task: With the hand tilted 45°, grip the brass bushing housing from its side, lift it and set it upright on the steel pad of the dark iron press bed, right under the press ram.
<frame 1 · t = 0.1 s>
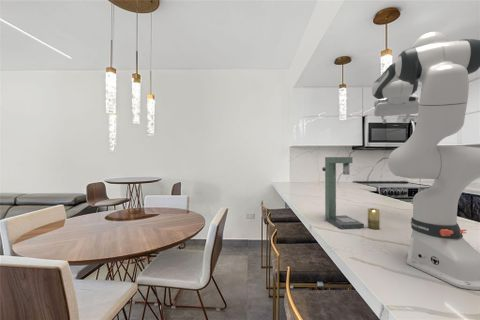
hand: (394, 122, 125), 54 cm above the counter, tool tilted 30°, fingers open, 8 cm apart
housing: (373, 227, 111), on the counter
press: (343, 223, 118), on the counter
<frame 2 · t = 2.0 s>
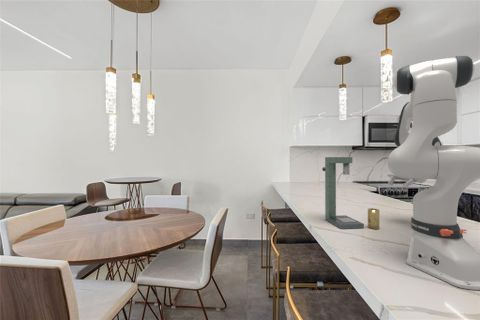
hand: (396, 185, 112), 21 cm above the counter, tool tilted 45°, fingers open, 8 cm apart
nothing on the counter moved.
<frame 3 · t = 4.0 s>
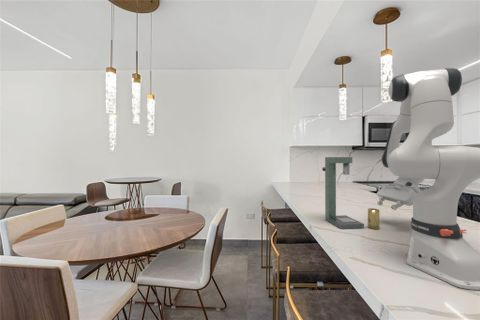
hand: (385, 206, 112), 10 cm above the counter, tool tilted 45°, fingers open, 8 cm apart
nothing on the counter moved.
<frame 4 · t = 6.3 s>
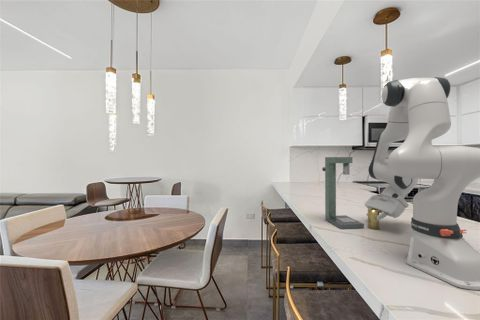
hand: (372, 217, 111), 5 cm above the counter, tool tilted 45°, fingers closed on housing, 5 cm apart
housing: (373, 227, 111), on the counter, touching gripper
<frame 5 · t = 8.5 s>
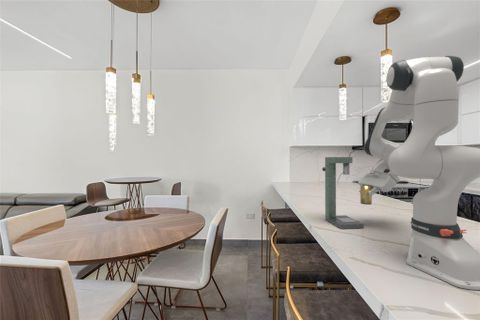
hand: (364, 193, 113), 16 cm above the counter, tool tilted 45°, fingers closed on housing, 5 cm apart
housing: (366, 203, 113), point 12 cm above the counter, touching gripper
when the fingers open (9 cm above the counter, at t = 11.1 s): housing drops 1 cm, resting on press.
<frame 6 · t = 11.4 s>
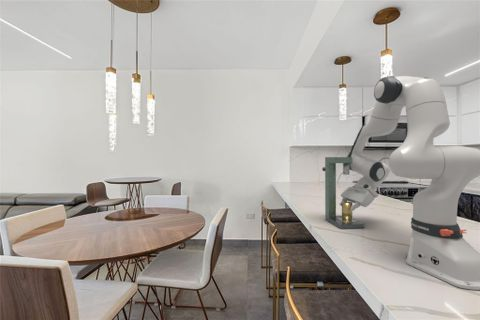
hand: (345, 207, 117), 9 cm above the counter, tool tilted 45°, fingers open, 8 cm apart
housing: (347, 219, 118), point 2 cm above the counter, touching press
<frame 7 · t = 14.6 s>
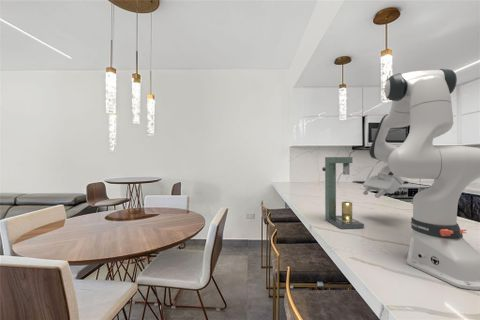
hand: (370, 195, 118), 15 cm above the counter, tool tilted 45°, fingers open, 8 cm apart
nothing on the counter moved.
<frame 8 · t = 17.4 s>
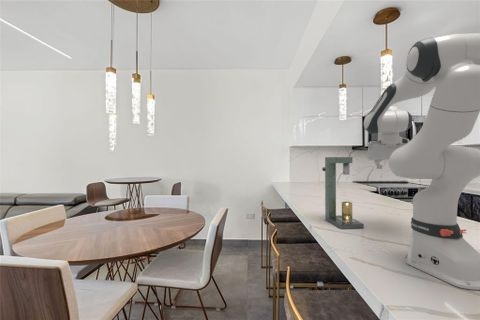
hand: (388, 168, 110), 29 cm above the counter, tool pointing down, fingers open, 8 cm apart
nothing on the counter moved.
at the end: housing 0.7 cm from the target spot on the press, point 2.2 cm above the press's base; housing tilted 0°; the gripper is holding nothing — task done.
